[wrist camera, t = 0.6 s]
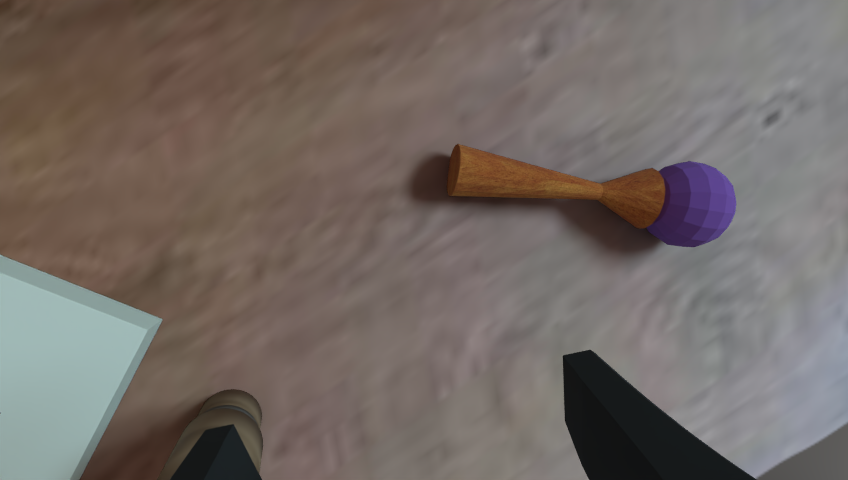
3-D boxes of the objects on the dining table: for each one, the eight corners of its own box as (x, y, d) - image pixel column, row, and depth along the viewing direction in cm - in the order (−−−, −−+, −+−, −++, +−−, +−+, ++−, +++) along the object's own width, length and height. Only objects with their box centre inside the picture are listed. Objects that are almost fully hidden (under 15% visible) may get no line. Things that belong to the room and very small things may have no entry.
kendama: (469, 106, 29) (756, 157, 33) (445, 143, 35) (690, 182, 38) (463, 203, 28) (760, 244, 31) (439, 224, 34) (692, 256, 37)
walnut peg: (247, 462, 30) (228, 560, 21) (179, 439, 29) (130, 532, 20) (278, 399, 30) (273, 468, 21) (212, 374, 29) (178, 436, 20)
